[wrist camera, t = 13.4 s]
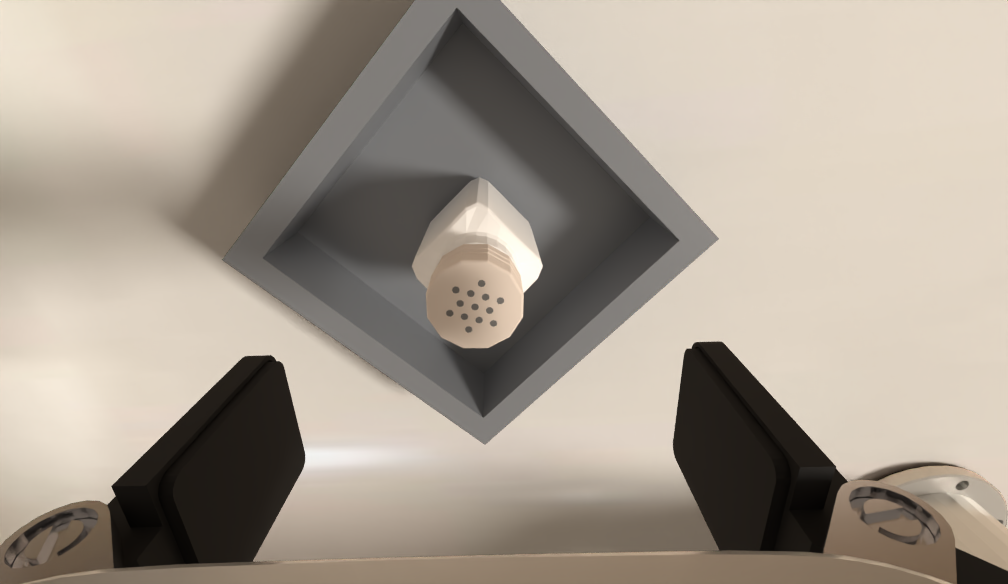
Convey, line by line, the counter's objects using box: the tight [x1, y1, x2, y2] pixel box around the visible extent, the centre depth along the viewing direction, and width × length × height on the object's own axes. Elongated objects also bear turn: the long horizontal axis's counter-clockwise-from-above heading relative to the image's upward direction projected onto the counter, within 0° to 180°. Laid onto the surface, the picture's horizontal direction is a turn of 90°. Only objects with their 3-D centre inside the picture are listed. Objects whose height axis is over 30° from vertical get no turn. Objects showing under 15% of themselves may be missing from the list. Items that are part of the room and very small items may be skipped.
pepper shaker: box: [412, 177, 543, 348], centre depth 19 cm, size 4×4×10 cm
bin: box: [222, 0, 719, 444], centre depth 22 cm, size 15×15×5 cm
